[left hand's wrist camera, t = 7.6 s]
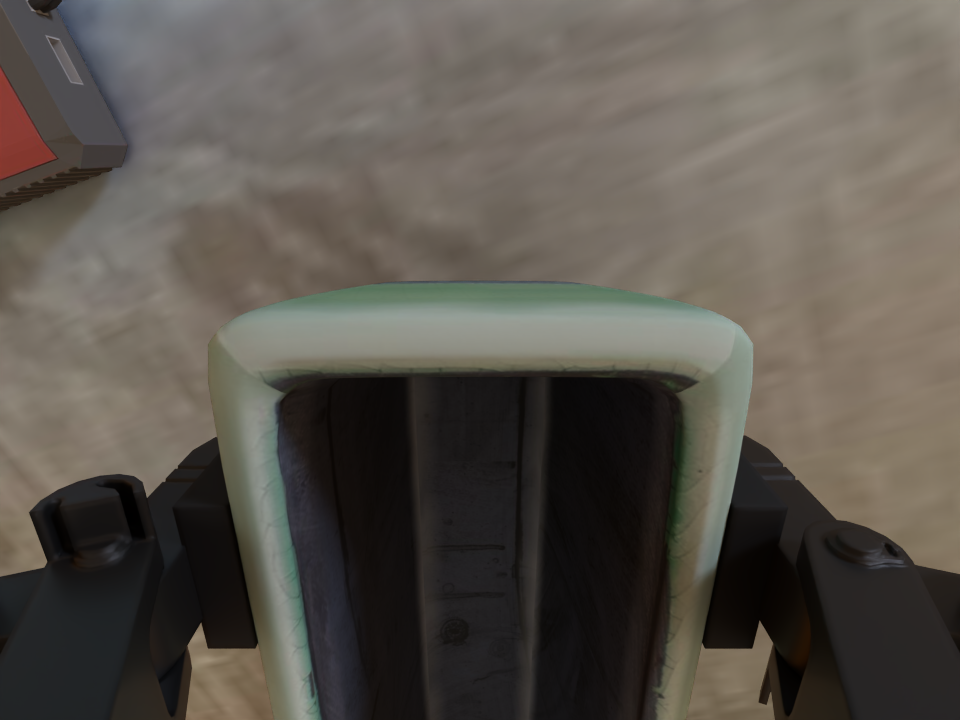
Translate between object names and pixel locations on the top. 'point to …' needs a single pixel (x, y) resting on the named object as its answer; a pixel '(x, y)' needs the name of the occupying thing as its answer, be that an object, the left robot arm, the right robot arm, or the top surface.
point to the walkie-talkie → (48, 107)
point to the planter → (480, 496)
